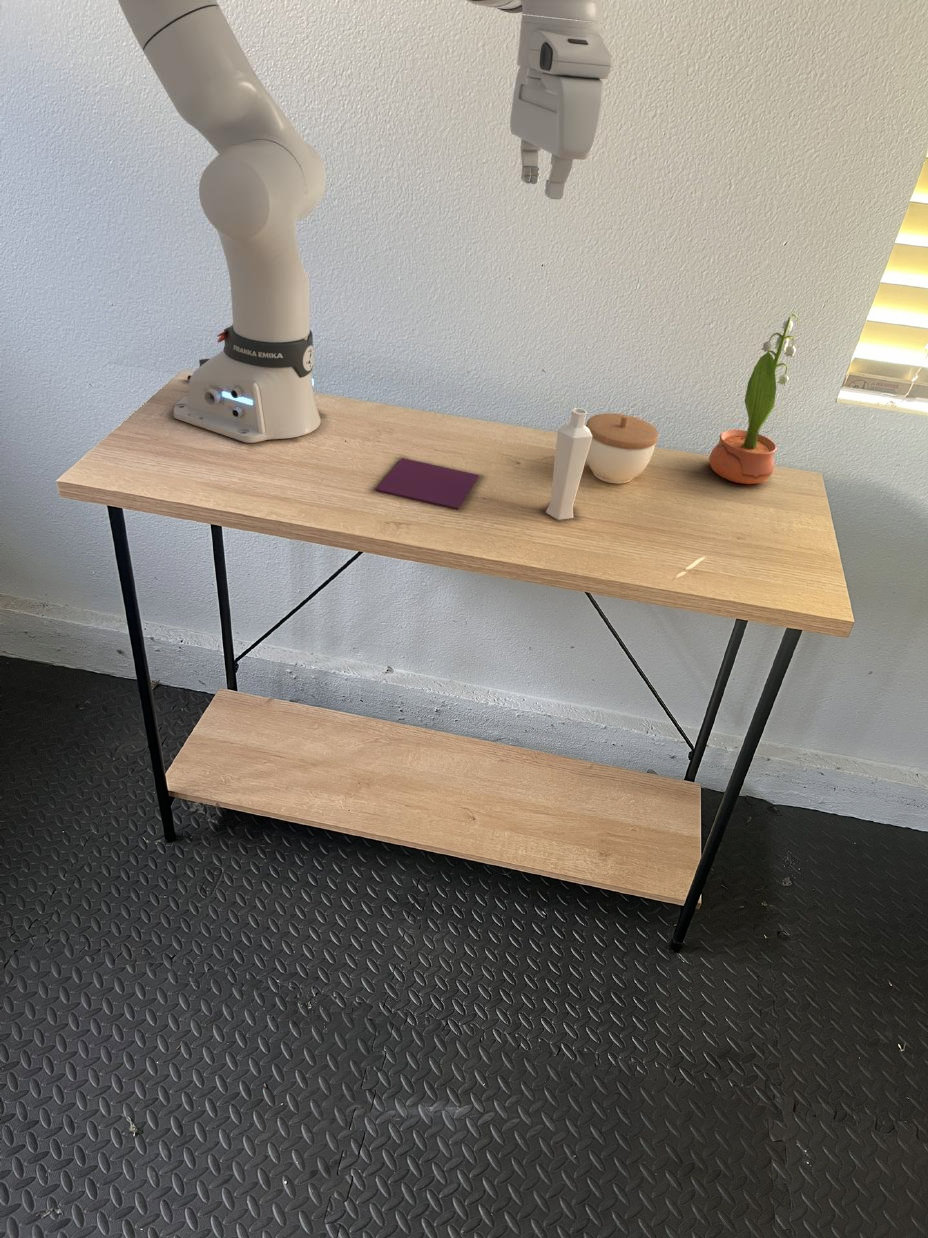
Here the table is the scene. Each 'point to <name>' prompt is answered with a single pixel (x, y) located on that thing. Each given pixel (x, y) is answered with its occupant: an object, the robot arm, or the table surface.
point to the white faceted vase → (569, 464)
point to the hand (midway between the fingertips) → (540, 190)
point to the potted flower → (754, 421)
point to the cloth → (428, 483)
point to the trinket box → (619, 446)
